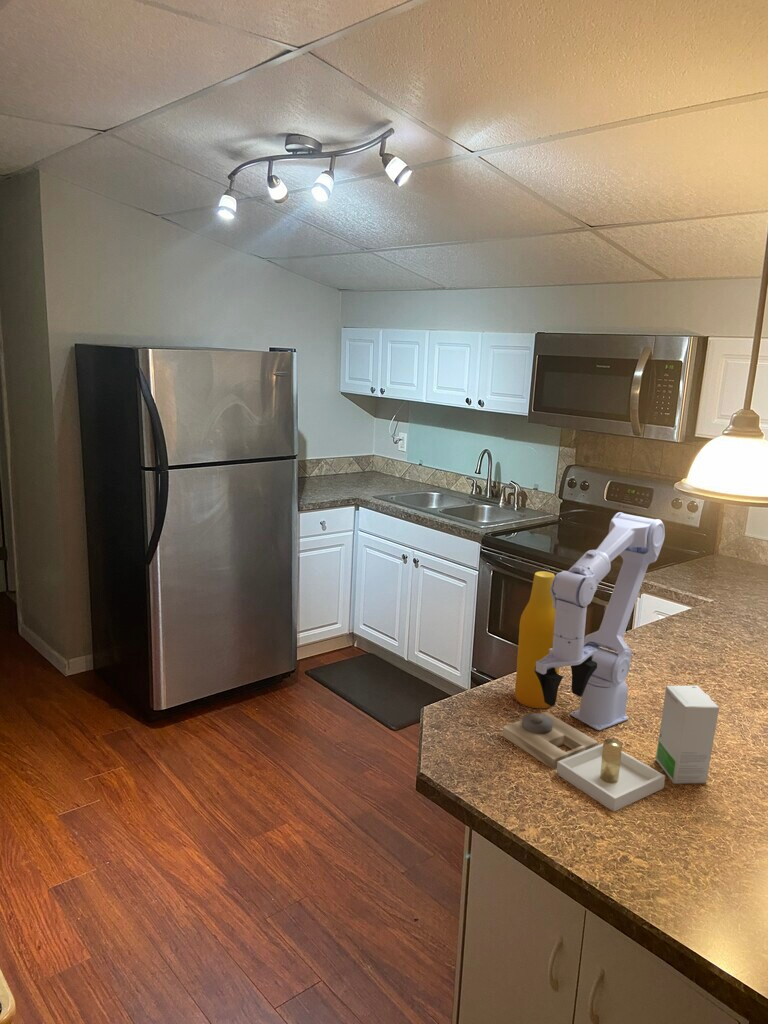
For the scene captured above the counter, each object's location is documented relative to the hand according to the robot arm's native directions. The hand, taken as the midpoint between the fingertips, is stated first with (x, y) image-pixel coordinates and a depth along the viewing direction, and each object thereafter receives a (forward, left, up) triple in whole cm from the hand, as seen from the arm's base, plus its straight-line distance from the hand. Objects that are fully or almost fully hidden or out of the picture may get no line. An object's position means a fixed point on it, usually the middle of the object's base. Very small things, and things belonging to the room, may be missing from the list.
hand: (563, 699), depth 145 cm
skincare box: (-12, +19, -10) cm, 24 cm away
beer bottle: (-9, -16, -10) cm, 21 cm away
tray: (+2, +14, -9) cm, 17 cm away
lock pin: (+2, +14, -9) cm, 17 cm away
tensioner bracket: (+2, -1, -9) cm, 10 cm away
